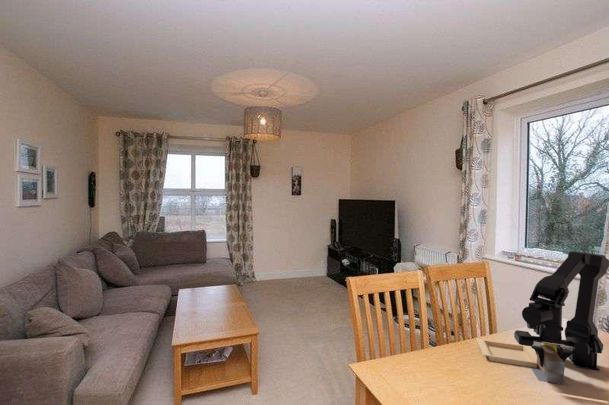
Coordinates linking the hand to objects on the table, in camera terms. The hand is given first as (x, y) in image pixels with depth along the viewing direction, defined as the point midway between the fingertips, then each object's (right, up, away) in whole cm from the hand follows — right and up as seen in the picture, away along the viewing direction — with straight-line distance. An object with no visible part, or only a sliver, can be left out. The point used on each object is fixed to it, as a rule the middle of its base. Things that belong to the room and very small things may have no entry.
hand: (549, 367), depth 102 cm
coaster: (0, -4, 0) cm, 4 cm away
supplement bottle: (+9, -4, +12) cm, 15 cm away
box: (0, -2, 0) cm, 2 cm away
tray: (-5, -3, +14) cm, 15 cm away
